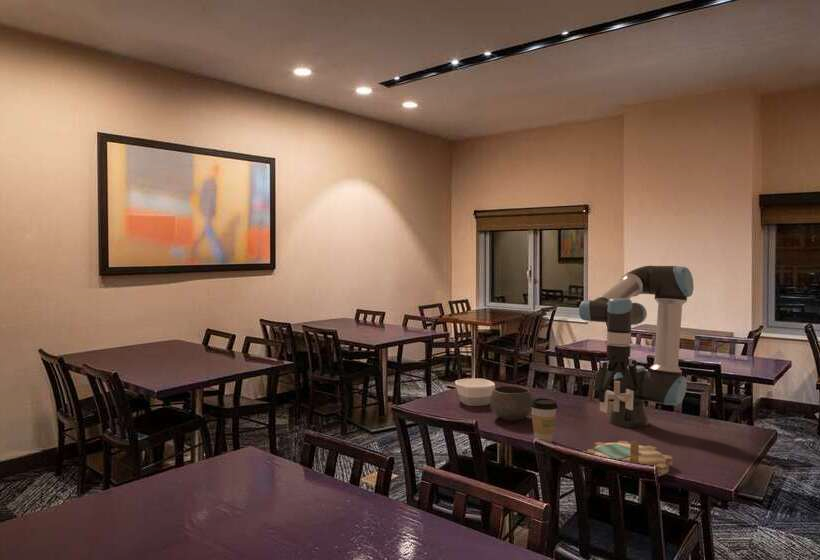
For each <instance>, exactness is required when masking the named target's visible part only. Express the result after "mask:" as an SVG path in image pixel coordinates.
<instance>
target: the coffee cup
mask: <svg viewBox="0 0 820 560" xmlns="http://www.w3.org/2000/svg"><path fill="white" fill-rule="evenodd" d="M530 406H531V407H532V411H531V419H532V420H531V421H532V427H533V428H532V429H533V437H534V440H535V439H536V438H538V439H543V440H547V441H551V442H553V436H554V432H555V424H556V418H557V417H556V416H557V414H556V413H557V409H558V408H559V407H558V404H557V401H556V400H555V399H552V398H548V397H535V398H533V400H532V402H531V404H530Z"/></svg>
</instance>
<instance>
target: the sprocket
mask: <svg viewBox="0 0 820 560" xmlns="http://www.w3.org/2000/svg"><path fill="white" fill-rule="evenodd" d="M587 453H590V454H594V455H598V456H602V457H606V458H612V459H616V460H622V461H627V462H632V463H640V464H647V465H655V466H656V468H657V472H658V473H660V474H664V473H667V472H668V473H669V471H668V465H669V466H673V457H672V456H671V455H669V454H663V453H662V452H660V451H658V447H656V446H652V445H646V446H645V445H640V443H639V441H635V440H634V441H632V440H631V441H630V442H629V441H627V440H617V442H601V441H597V442H594V443H593V447H592V448H591V449H589V448H587ZM668 473H667V474H668Z"/></svg>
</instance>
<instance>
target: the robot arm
mask: <svg viewBox="0 0 820 560" xmlns="http://www.w3.org/2000/svg"><path fill="white" fill-rule="evenodd" d="M693 278H694V277H693V274H692V272H691V271H690V269H689V268H688V267H686V266H681V265H680V266H679V265H644V266H641V267H640V266H639V267H637V268H635V269H632V270H630V271H628V272H627V273H625V274H624V275H622V276H621V277H620V278H619V281H618V282H617V283H615V284H614V285H613V286H611V287H610V288H609V289H608V290H606V291H604V292H603V293H602V294H601V295H599V296H598V297H596V298H595V299H593V300H591V299H589V300H588V299H587V300H583V301H582V302H580V303H579V307H578V315H579V317H580V319H581V320H583V321H586V322H587V321H588V322H590V323H591V322H597V323H606V324H607V327H606V328H607V329H606V343H607V345H606V357H607V359H606V360H600V361H599V362H598V371H597V375H596V379H595V382H594V386H593V390H594V391H597V392H598V402H599V411H600V412H602V413H604V414H605V413H608V404H609V403H608V401H609V399H608V393H606V391H607V390H608V389H609V385H610V384H611V382H612V379H613V382H614V381H620V394H621V393H630V394H631V398H628V402H623V401H621V400H620V402H619V412H615V411H613V410H614V402H613V403H612V406H611V410H610V413H609V415H608V421H609V423H610V424H613V425H616V426H618V427H623V428H629V429H630V428H631V429H641V428H646V427H648V426H649V417H648V414H647V411H646V407H645V402H651V403H657V404H662V405H665V406H678V405H679V404H681V403H682V402H683V400H684V398H685V395H686V392H687V387H688V383H687V381H688V380H687V378H686V377H685V376H684V375H683V370H681V368H680V367H679V356H680V342H681V341H680V340H681V327H682V325H681V324H682V313H683V311H682V310H683V306H684V304H685V303H687V302H688V298H689V297H691V296H692V295H693V292H694V279H693ZM639 295H654V300H655V301H656V302H657V304H658V305H657V318H656V331H655V347H654V360H653V364H652V365H651V366H649V371H647V369H646V367H645V366H642V365H637V360H636V359H632V358H630V357H631V346H630V345H631V343H632V342H631V341H632V340H631V338H632V326H633V325H634V326H637V325H639V324H641V323H643V322H644V321H645V320H646V318H647V316H648V315H647V314H648V313H647V312H648V311H647V309H646V307H645V306H644V305H643V304H641V303H639V302H633V301H632V300H631V298H633V297H634V298H635V297H638V296H639Z"/></svg>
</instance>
